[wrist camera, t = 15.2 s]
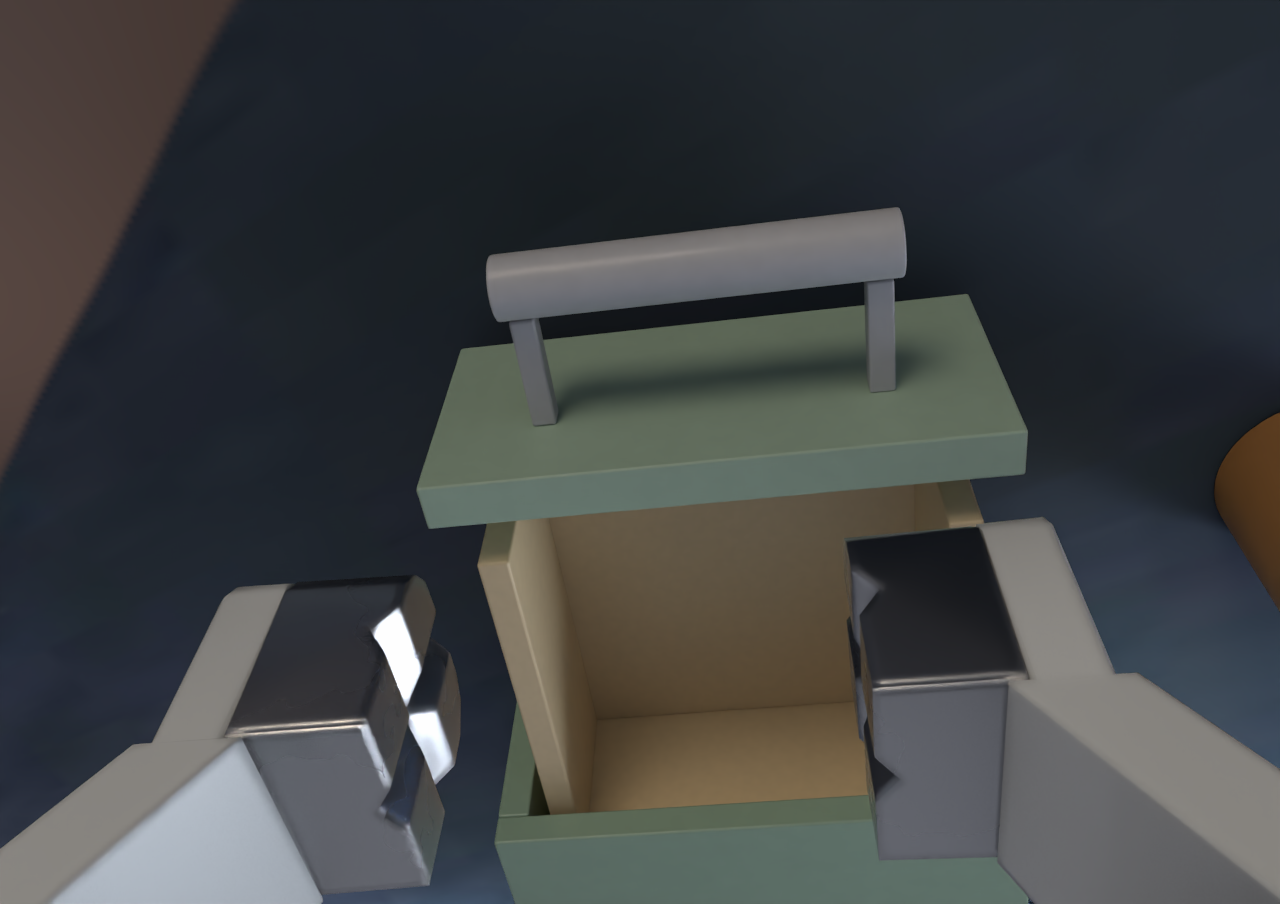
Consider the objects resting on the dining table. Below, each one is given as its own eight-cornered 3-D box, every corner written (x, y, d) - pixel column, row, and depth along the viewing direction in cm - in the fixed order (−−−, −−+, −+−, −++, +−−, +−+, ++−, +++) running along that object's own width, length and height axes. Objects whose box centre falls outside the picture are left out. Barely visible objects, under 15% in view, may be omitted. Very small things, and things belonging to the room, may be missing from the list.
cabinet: (527, 633, 39) (493, 843, 32) (973, 597, 37) (1037, 810, 30) (601, 906, 48) (587, 1115, 41) (963, 887, 46) (1010, 1101, 39)
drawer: (420, 198, 29) (361, 321, 23) (972, 130, 27) (1041, 244, 22) (557, 712, 39) (537, 874, 34) (958, 683, 38) (1001, 848, 33)
